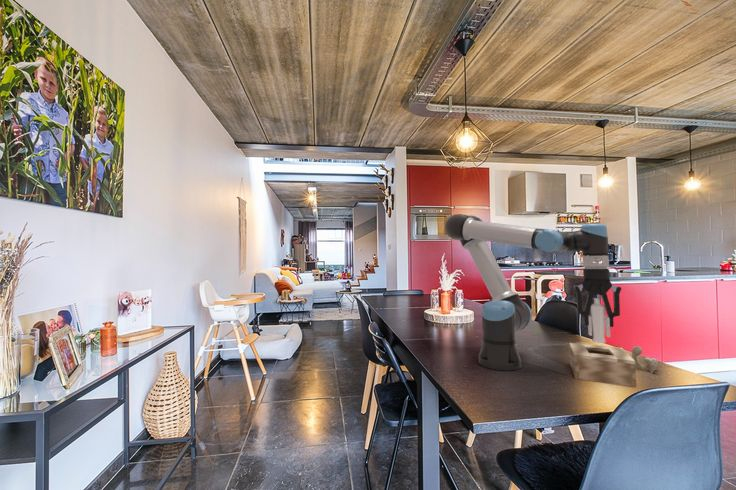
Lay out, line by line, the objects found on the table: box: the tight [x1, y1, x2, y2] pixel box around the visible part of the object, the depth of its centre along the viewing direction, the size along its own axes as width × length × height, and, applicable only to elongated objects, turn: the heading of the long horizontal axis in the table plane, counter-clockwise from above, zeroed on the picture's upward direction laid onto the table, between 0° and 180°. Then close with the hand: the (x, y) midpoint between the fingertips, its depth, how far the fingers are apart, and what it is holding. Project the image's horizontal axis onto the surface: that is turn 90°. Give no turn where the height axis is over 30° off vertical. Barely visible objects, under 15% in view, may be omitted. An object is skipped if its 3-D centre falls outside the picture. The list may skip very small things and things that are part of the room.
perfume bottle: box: [589, 297, 607, 344], centre depth 111 cm, size 5×4×15 cm
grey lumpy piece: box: [631, 345, 660, 374], centre depth 114 cm, size 9×6×10 cm
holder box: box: [568, 342, 637, 388], centre depth 110 cm, size 16×16×8 cm
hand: (599, 335), depth 111 cm, fingers closed on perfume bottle, 4 cm apart
